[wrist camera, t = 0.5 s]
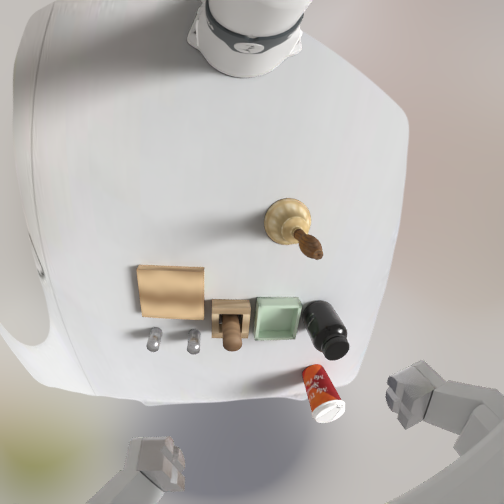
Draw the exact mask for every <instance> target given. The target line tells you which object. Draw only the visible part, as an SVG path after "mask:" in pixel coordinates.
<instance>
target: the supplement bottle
mask: <svg viewBox="0 0 504 504" xmlns="http://www.w3.org/2000/svg"><path fill="white" fill-rule="evenodd" d="M302 318H303V322H304V325H305V327H306V329H307V332H308V334H309V336H310V338H311V341H312V343H313V345H314V347H315V348H316V349H317V350H318V351H320V352H323V354H324V356H325V358H327V359H328V360H337V359H340V358H342V357H343V356H344V355H346V353H347V352H348V350H349V343H348V341H347V339H346V338H347V330H346V328H345V326H344V324H343V323H342V321H341V320H340V318H339V316H338V315H337V313H336V312H335V310H334V309H333V307H332V306H331V305H330V304H329V303H328V302H325V301H317V302H314V303H312V304H310V305H309V306H308V307H307V308H306V309H305V311H304V313H303V317H302Z"/></svg>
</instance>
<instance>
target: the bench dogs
mask: <svg viewBox="0 0 504 504" xmlns="http://www.w3.org/2000/svg"><path fill="white" fill-rule="evenodd" d="M161 336H162V330H161V329H160V328H158V327H154V328H152V329H151V332H150V336H149V339H148V342H147V349H148V350H149V351H152V352H156V351H158V349H159V345H160V340H161ZM200 336H201V333H200V331H198V330H196V329H192V330H190V331H189V337H188V346H187V351H188V352H189V353H190V354H197V353H199V351H200Z"/></svg>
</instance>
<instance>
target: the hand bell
mask: <svg viewBox="0 0 504 504" xmlns="http://www.w3.org/2000/svg"><path fill="white" fill-rule="evenodd" d="M310 225H311V216H310V212H309V210H308V208H307V207H306V206H305V205H304V204H303V203H302V202H300V201H298V200H296V199H291V198H286V199H282V200H279V201H277V202H275V203H274V204H273V205H271V207H270V208H269V209H268V211H267V213H266V215H265V219H264V227H265V230H266V233H267V235H268V236H269V237H270V238H271V239H272V240H273V241H274V242H276V243H279V244H282V245H290V244H297V243H299V247H300V249H301V251H302V252H303V254H305V255H306V256H307V257H309V258H313V259H316V260H318V259H321V258H322V257H323V252H322V246H321V244H320V242H319V241H318V240H317V239H316V238H315V237H314V236H312V235H308V232H309V229H310Z"/></svg>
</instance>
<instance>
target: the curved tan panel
mask: <svg viewBox="0 0 504 504" xmlns="http://www.w3.org/2000/svg"><path fill="white" fill-rule="evenodd" d="M137 279H138V288H139V296H140V303H141V310H142V317H153V318H169V319H189V320H204V267H182V266H155V265H139V266H138V268H137Z"/></svg>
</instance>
